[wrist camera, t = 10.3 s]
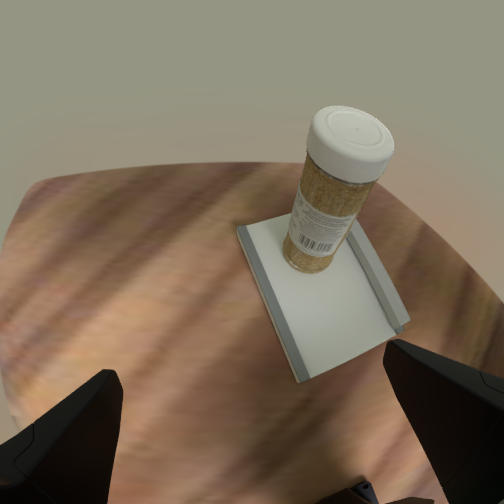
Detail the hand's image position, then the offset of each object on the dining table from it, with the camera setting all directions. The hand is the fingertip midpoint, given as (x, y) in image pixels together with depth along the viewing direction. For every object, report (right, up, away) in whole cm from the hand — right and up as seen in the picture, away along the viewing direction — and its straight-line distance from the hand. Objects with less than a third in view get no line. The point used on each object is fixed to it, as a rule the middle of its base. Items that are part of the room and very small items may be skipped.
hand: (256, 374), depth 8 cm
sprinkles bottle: (+5, +4, +17) cm, 18 cm away
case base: (+6, +1, +16) cm, 17 cm away
